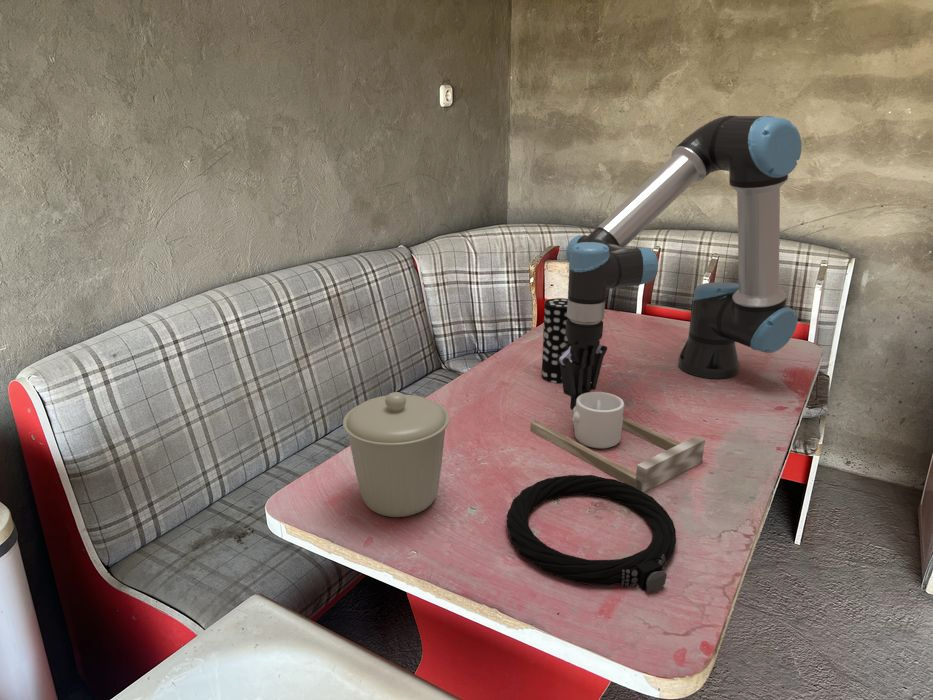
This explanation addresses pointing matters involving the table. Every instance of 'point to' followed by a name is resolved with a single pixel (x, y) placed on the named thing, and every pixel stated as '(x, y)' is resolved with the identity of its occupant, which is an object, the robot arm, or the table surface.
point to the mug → (598, 419)
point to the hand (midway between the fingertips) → (577, 422)
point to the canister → (397, 451)
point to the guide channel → (648, 471)
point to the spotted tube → (554, 338)
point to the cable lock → (623, 571)
